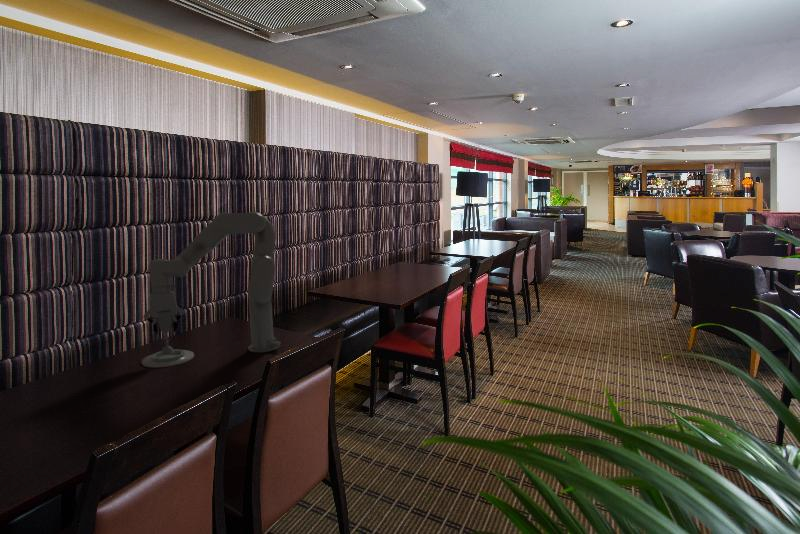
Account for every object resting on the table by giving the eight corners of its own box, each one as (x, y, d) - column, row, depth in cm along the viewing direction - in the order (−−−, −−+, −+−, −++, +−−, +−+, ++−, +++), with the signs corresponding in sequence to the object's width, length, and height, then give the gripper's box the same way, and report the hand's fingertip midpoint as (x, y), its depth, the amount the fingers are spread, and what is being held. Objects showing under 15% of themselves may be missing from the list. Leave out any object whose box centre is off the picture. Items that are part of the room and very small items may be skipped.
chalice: (180, 350, 214) (176, 308, 211) (171, 355, 207) (167, 312, 204) (164, 350, 214) (160, 308, 212) (154, 355, 208) (150, 312, 205)
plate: (204, 354, 217) (204, 348, 216) (168, 369, 198) (167, 364, 198) (168, 350, 224) (167, 345, 223) (130, 364, 205) (129, 359, 205)
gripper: (184, 285, 213) (188, 327, 216) (138, 290, 206) (143, 332, 209) (184, 288, 207) (188, 331, 209) (137, 293, 200) (142, 337, 202)
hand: (165, 331), depth 209 cm, fingers closed on chalice, 6 cm apart
